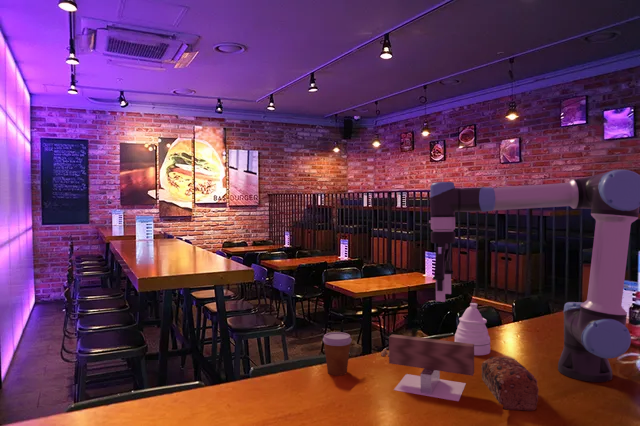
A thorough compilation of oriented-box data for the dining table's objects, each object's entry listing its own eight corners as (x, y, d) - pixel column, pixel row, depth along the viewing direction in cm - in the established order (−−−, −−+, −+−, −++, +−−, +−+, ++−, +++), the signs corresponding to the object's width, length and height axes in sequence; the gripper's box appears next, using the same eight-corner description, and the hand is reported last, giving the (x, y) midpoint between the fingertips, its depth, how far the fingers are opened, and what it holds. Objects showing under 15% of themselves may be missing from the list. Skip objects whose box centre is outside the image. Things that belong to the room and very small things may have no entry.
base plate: (465, 388, 133) (465, 383, 133) (458, 406, 120) (458, 401, 120) (406, 378, 141) (406, 373, 141) (393, 395, 128) (393, 389, 128)
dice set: (391, 360, 160) (391, 354, 160) (378, 357, 163) (378, 352, 163) (396, 356, 165) (396, 351, 165) (384, 354, 167) (384, 348, 167)
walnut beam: (474, 372, 127) (474, 344, 127) (472, 375, 124) (472, 346, 124) (392, 360, 137) (391, 334, 137) (389, 363, 134) (389, 336, 134)
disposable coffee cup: (355, 369, 149) (355, 333, 149) (345, 379, 140) (345, 341, 140) (329, 365, 153) (329, 330, 153) (317, 374, 144) (317, 337, 144)
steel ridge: (439, 380, 135) (439, 362, 135) (431, 394, 124) (431, 375, 124) (429, 378, 136) (429, 360, 136) (420, 393, 126) (420, 373, 126)
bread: (539, 412, 117) (539, 374, 117) (497, 410, 118) (497, 373, 118) (516, 385, 136) (516, 352, 136) (480, 383, 137) (480, 351, 137)
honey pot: (495, 355, 164) (495, 306, 164) (460, 355, 164) (460, 306, 164) (483, 345, 176) (483, 299, 176) (450, 344, 177) (450, 299, 177)
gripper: (437, 229, 155) (438, 290, 155) (423, 232, 132) (424, 304, 132) (459, 229, 152) (460, 291, 152) (449, 232, 129) (450, 305, 129)
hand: (443, 297), depth 142 cm, fingers open, 13 cm apart
